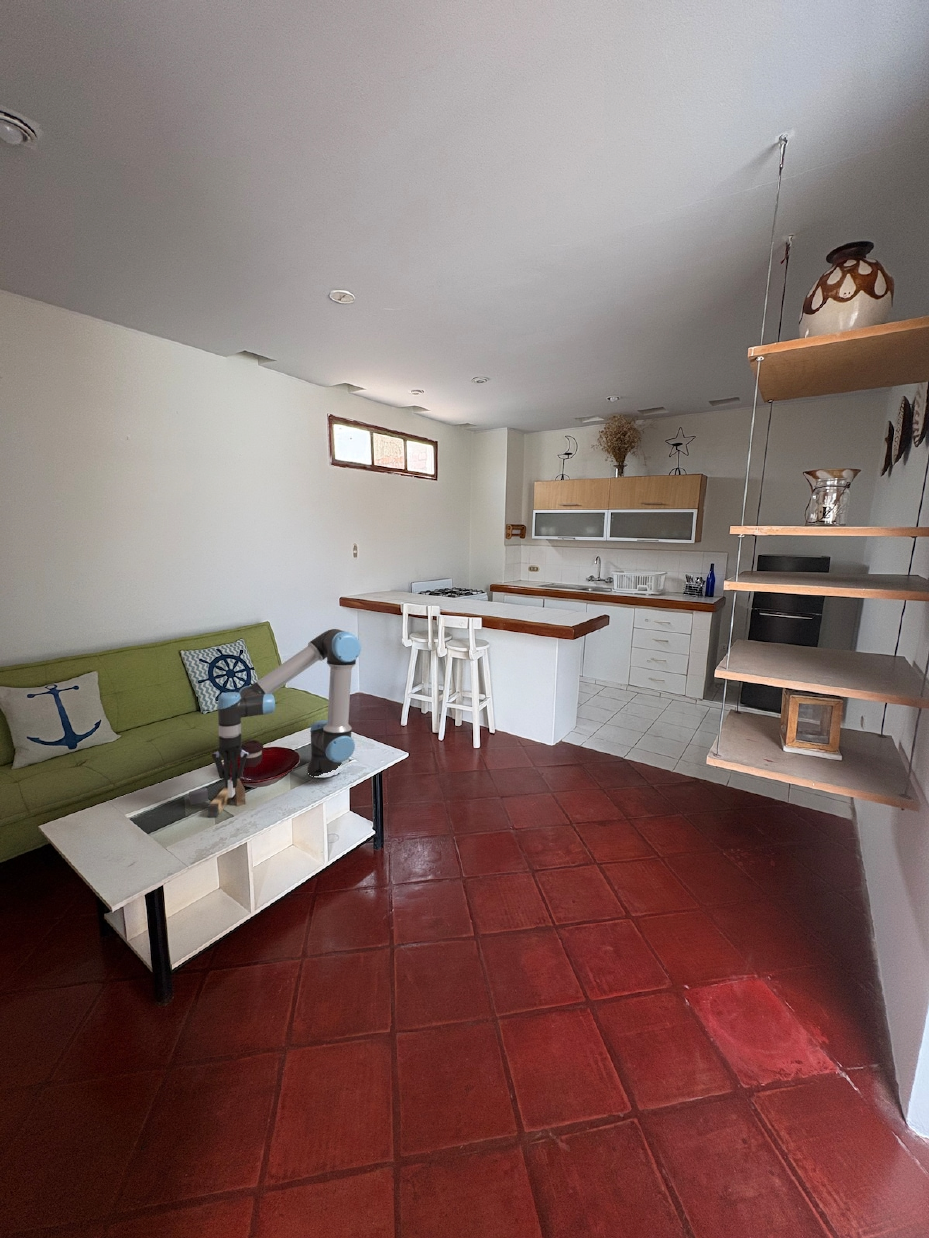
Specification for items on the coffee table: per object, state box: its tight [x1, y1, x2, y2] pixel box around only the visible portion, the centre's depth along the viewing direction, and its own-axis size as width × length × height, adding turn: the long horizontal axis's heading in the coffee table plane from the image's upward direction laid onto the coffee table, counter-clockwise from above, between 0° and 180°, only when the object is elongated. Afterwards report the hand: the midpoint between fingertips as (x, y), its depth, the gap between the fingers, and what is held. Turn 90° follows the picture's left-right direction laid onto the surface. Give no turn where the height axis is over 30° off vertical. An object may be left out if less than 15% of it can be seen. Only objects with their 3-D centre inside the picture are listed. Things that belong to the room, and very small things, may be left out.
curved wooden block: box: [230, 776, 246, 807], centre depth 193 cm, size 3×14×6 cm, turn 35°
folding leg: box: [206, 786, 233, 818], centre depth 186 cm, size 16×3×5 cm, turn 5°
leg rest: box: [188, 787, 209, 806], centre depth 190 cm, size 6×3×4 cm, turn 125°
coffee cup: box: [239, 739, 264, 767], centre depth 213 cm, size 10×10×15 cm
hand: (231, 795), depth 183 cm, fingers closed
